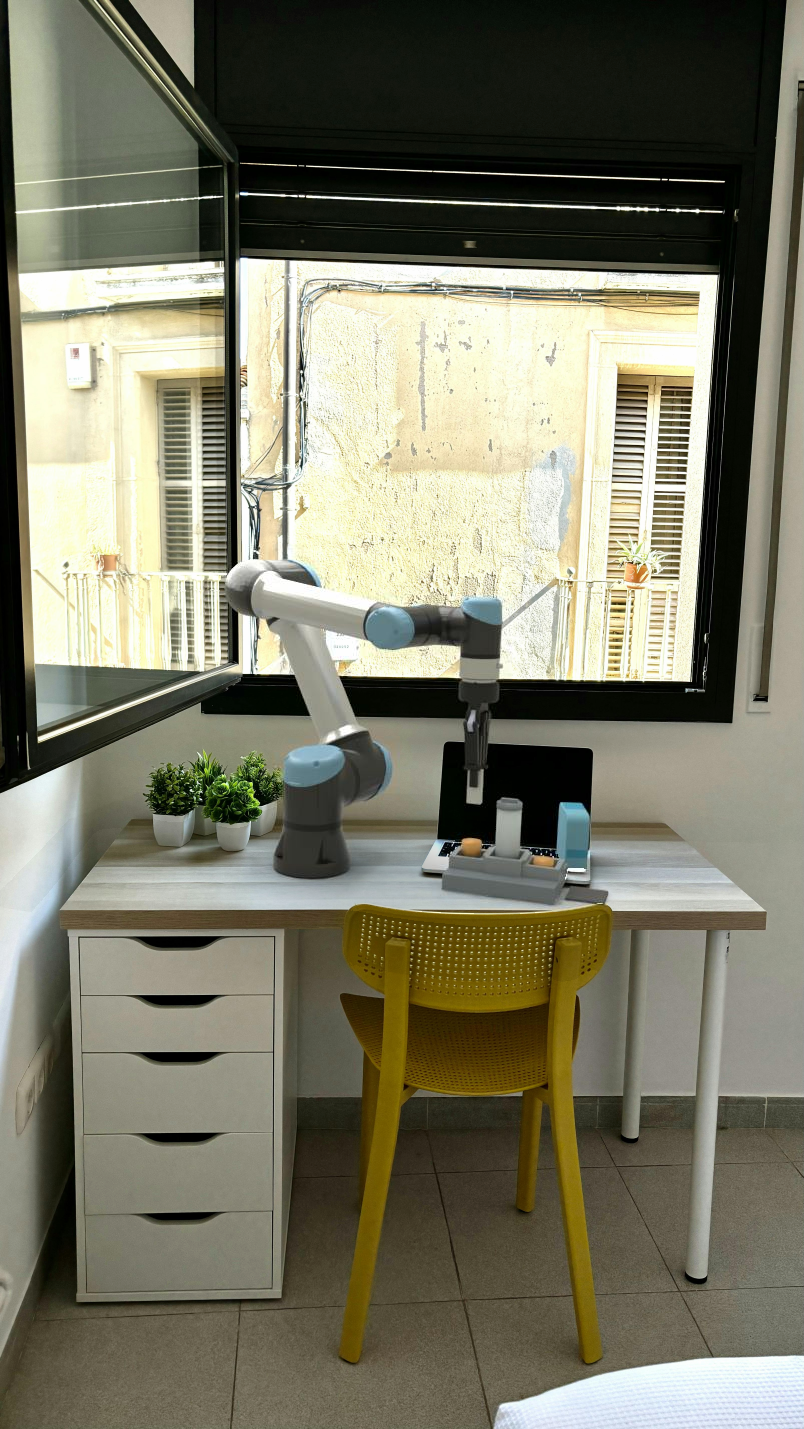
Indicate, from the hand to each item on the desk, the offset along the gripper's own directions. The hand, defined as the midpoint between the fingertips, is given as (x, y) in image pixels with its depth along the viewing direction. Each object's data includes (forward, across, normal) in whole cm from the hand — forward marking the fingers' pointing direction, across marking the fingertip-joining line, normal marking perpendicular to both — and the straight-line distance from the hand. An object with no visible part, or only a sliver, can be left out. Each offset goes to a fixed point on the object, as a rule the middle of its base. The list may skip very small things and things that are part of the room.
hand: (474, 802), depth 188 cm
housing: (+15, 0, -7) cm, 17 cm away
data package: (+16, +17, -17) cm, 29 cm away
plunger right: (+12, 0, -14) cm, 18 cm away
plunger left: (+10, 0, 0) cm, 10 cm away
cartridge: (+12, 0, -7) cm, 14 cm away
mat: (+15, -1, -22) cm, 27 cm away
